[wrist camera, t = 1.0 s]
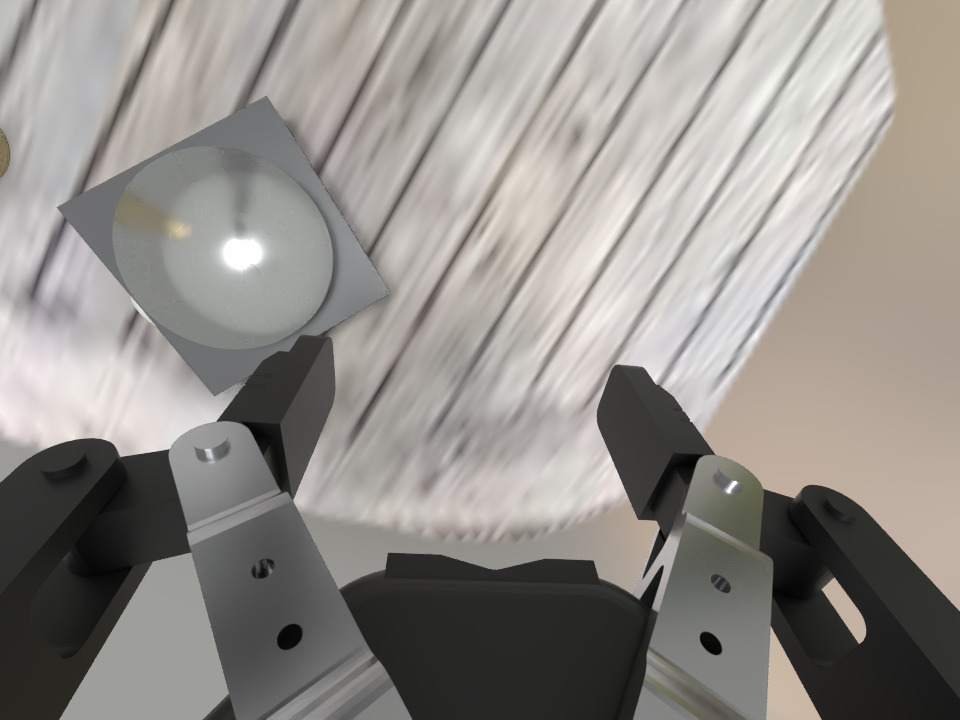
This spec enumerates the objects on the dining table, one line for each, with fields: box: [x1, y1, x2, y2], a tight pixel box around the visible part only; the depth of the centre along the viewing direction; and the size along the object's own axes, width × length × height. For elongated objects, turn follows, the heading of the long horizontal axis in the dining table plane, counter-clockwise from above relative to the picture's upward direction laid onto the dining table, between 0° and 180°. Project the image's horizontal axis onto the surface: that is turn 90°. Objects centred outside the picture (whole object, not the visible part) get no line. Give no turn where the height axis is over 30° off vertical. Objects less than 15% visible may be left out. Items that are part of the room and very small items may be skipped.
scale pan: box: [112, 146, 334, 349], centre depth 25 cm, size 12×12×1 cm
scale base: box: [57, 96, 390, 396], centre depth 28 cm, size 14×14×4 cm
